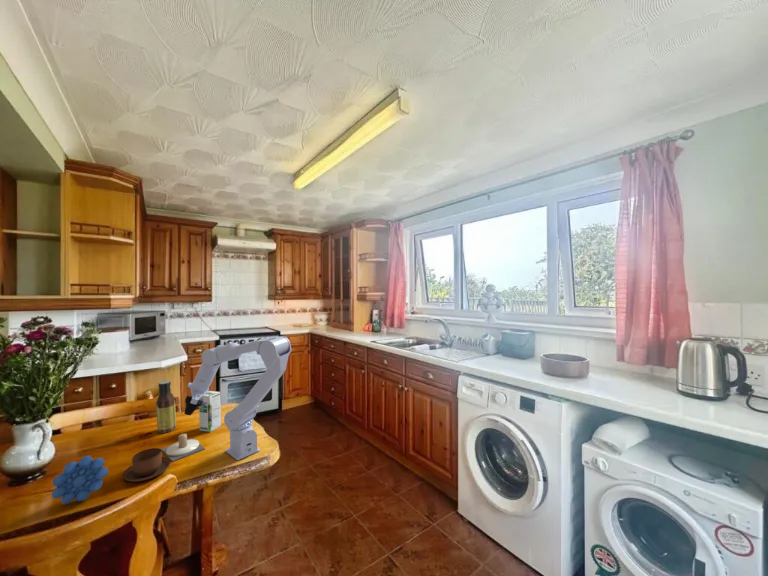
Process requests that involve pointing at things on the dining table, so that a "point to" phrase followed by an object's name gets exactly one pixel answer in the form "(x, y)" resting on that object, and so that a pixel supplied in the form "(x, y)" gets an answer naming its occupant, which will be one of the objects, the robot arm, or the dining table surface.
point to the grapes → (79, 479)
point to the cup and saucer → (146, 465)
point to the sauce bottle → (165, 408)
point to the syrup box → (210, 411)
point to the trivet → (174, 458)
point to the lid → (182, 446)
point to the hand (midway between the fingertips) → (190, 407)
